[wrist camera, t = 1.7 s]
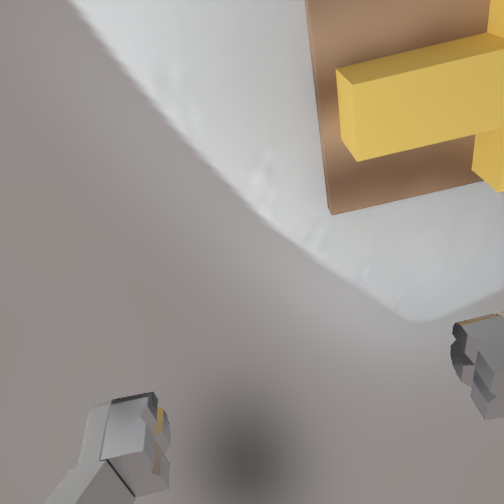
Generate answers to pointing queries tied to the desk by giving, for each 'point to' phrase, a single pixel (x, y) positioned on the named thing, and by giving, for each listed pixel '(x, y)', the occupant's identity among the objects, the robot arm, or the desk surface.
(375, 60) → the t block
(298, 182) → the desk surface
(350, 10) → the board
